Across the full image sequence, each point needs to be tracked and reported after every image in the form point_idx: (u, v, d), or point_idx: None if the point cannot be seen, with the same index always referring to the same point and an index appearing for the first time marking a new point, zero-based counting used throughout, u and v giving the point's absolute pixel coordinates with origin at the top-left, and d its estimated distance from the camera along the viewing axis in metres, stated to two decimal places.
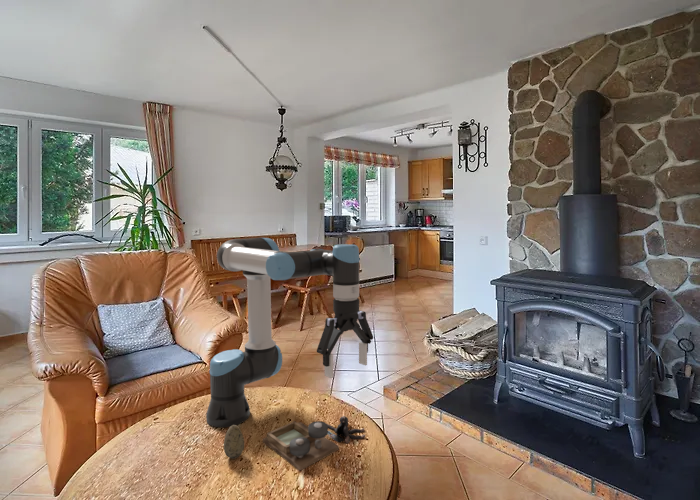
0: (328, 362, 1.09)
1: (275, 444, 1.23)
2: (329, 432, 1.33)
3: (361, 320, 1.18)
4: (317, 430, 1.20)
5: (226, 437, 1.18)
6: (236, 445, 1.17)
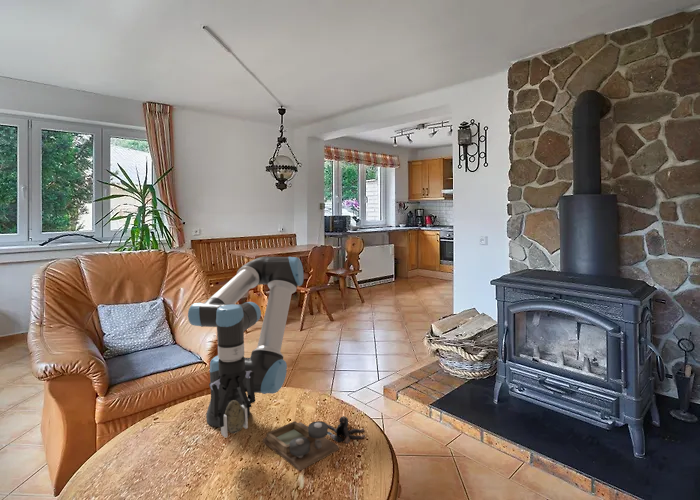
0: (222, 422, 1.16)
1: (275, 444, 1.23)
2: (329, 432, 1.33)
3: (248, 380, 1.21)
4: (317, 430, 1.20)
5: (226, 412, 1.17)
6: (236, 420, 1.17)
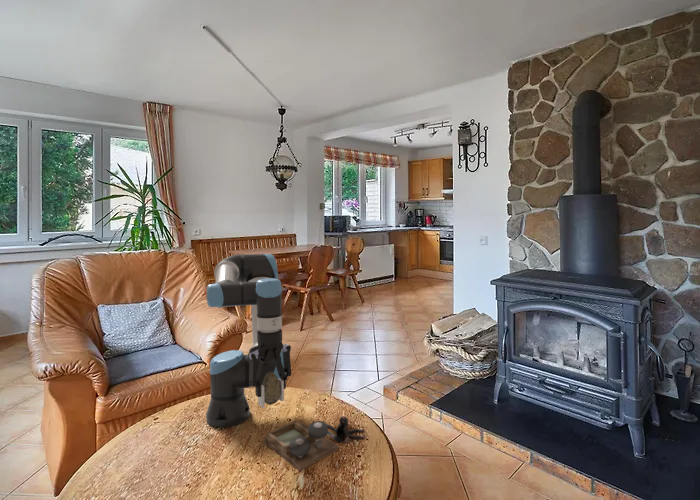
0: (260, 393, 1.19)
1: (275, 444, 1.23)
2: (329, 432, 1.33)
3: (285, 353, 1.25)
4: (317, 430, 1.20)
5: (263, 383, 1.20)
6: (273, 390, 1.20)
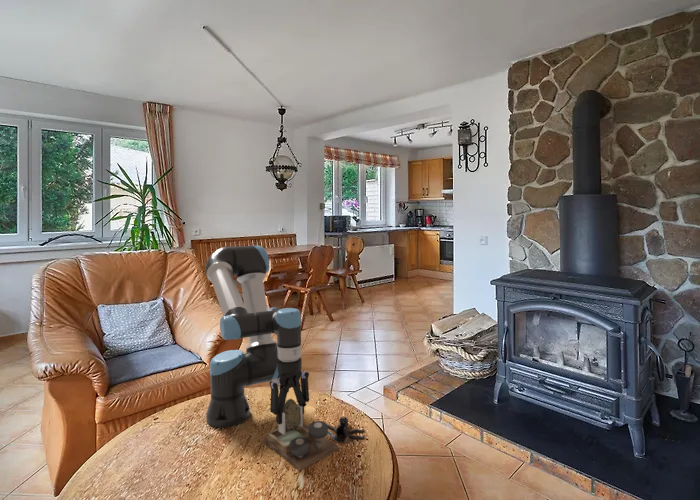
0: (281, 420, 1.23)
1: (275, 444, 1.23)
2: (329, 432, 1.33)
3: (303, 380, 1.28)
4: (317, 430, 1.20)
5: (284, 410, 1.24)
6: (294, 417, 1.23)
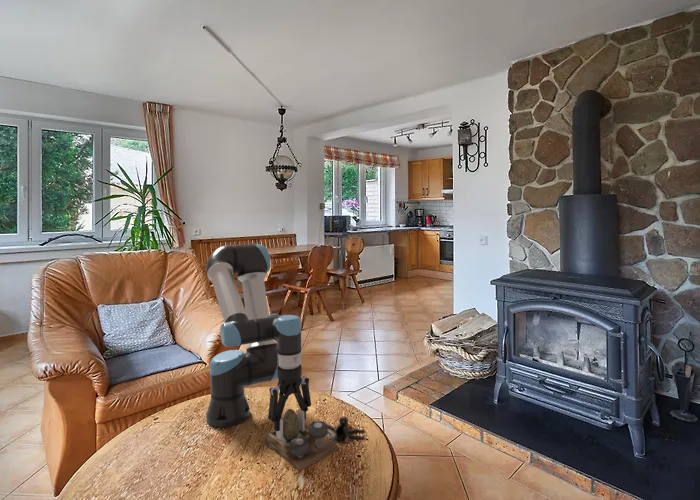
0: (279, 427, 1.22)
1: (275, 444, 1.23)
2: (329, 432, 1.33)
3: (303, 386, 1.29)
4: (317, 430, 1.20)
5: (283, 420, 1.24)
6: (294, 427, 1.24)
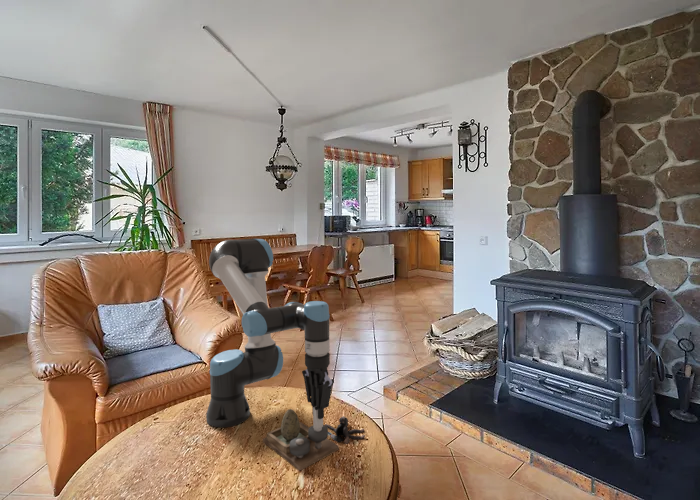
0: None
1: (275, 444, 1.23)
2: (329, 432, 1.33)
3: None
4: (317, 433, 1.20)
5: (284, 420, 1.24)
6: (294, 428, 1.24)
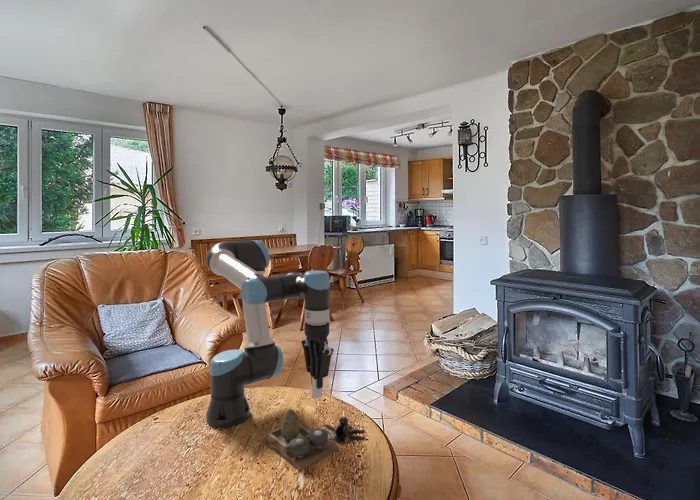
0: None
1: (275, 444, 1.23)
2: (329, 432, 1.33)
3: None
4: (317, 438, 1.20)
5: (284, 420, 1.24)
6: (294, 428, 1.24)
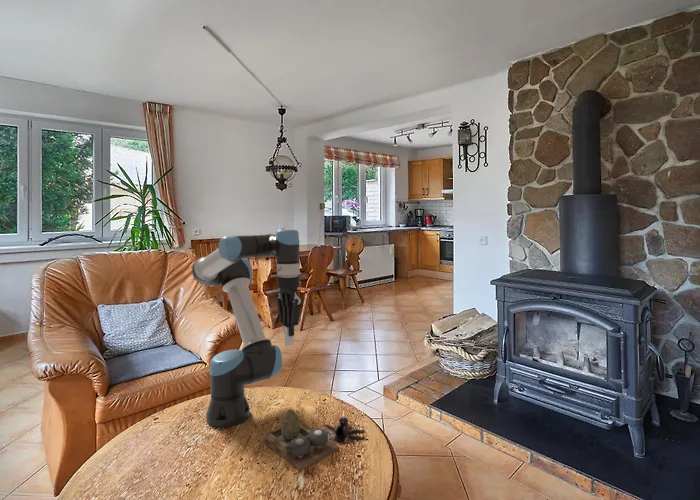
0: None
1: (275, 444, 1.23)
2: (329, 432, 1.33)
3: None
4: (317, 438, 1.20)
5: (284, 420, 1.24)
6: (294, 428, 1.24)
